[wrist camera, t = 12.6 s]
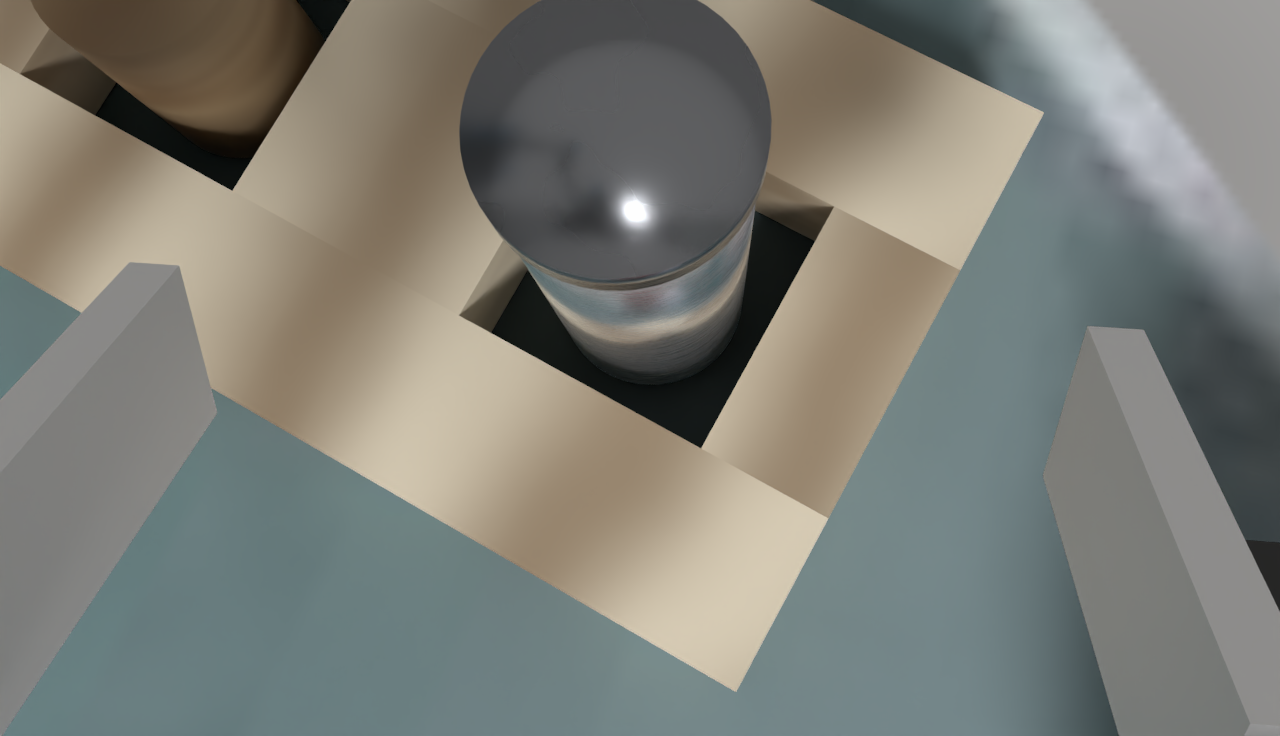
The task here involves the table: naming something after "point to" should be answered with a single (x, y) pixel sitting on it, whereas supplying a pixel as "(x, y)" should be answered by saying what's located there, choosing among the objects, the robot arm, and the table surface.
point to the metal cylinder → (624, 173)
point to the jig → (501, 275)
